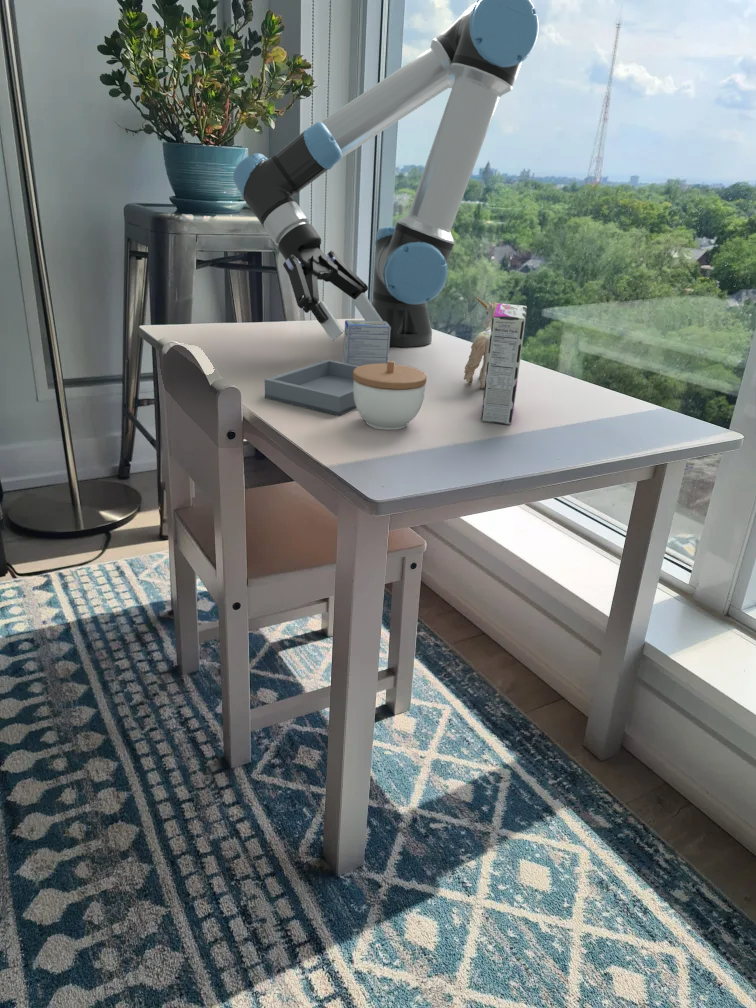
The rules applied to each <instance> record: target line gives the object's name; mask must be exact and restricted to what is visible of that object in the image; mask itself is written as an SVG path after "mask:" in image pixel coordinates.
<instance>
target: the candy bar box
mask: <svg viewBox="0 0 756 1008" xmlns="http://www.w3.org/2000/svg"><path fill="white" fill-rule="evenodd" d="M527 309H528V307H527V305H521V304H512V303H509V304H508V303H503V302H501V303H499V304H497V305H496V309H495V312H494V314H493V317H492V327H491V335H490V344H489V353H488V362H487V371H486V379H485V389H484V388H483V399H482V400H483V401H482V408H481V415H480V416H481V417H480V421H481V422H483V423H489V424H498V425H512V420H513V414H514V409H515V401H516V396H517V395H516V394H517V386H518V379H519V374H520V373H519V372H520V366H521V365H520V364H521V357H522V349H523V342H524V334H525V328H526V327H525V326H526V320H527Z"/></svg>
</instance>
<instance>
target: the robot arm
mask: <svg viewBox="0 0 756 1008" xmlns="http://www.w3.org/2000/svg"><path fill="white" fill-rule="evenodd" d="M538 16H539V15H538V13H537V10H536V8H535V5H534V4H533V2H532V0H477V1H476V2H475V3H473V4H471V5H470V6H469V7H468V8H467V9H466V10H465V11H464V12H463V13H462V15H460V16H459V17H458V18H457V19H456V20H455V21H454V23H452V24H451V25H450V26H448V28H446V29H445V30H443V32H441V33H440V34H439V35H438V36H436V37H434V38H432V39H431V43H430V47H429V48H428V49H427V50H426V51H424V52H423V53H421V54H419V55H418V56H416V57H414V59H412V60H410V61H409V62H407V63H406V64H405V65H403V66H401V67H400V68H399V69H397V70H395V71H394V72H393V73H391V74H390V75H388V76H387V77H385V78H384V79H382V80H381V81H379V82H377V83H376V84H375V85H373V86H372V87H370V88H369V89H367V90H366V91H364V92H363V93H362V94H360V95H358V96H357V97H356V98H354V99H351V101H350V102H348V103H346V104H345V105H343V106H342V107H341V108H339V109H338V110H336V111H334V112H333V113H332V114H330V115H328V116H327V117H326V118H324V119H323V120H321V121H317V122H315V123H314V124H312V125H311V126H309V127H307V128H306V129H304V130H303V131H302V132H301V133H299V135H298V136H296V137H295V138H294V139H292V140H291V141H290V142H289V143H288V144H287V145H285V146H284V147H283V148H281V149H280V150H279V151H278V152H276V154H273V156H271V157H269V158H268V157H267V156H265V155H264V154H263V153H259V152H257V153H256V152H255V153H253V154H251V155H249V156H245V157H244V158H243V159H242V160H241V161H240V162H239V163H238V164H237V165H236V166H235V168H234V171H233V175H232V180H233V182H234V184H235V186H236V188H237V190H238V191H239V193H240V195H241V196H242V199H243V200H244V202H246V204H247V205H248V207H249V208H250V210H251V211H252V212H253V214H254V216H255V217H256V218H257V220H258V221H259V222H260V224H261V226H262V227H263V228H264V229H265V231H266V232H267V234H268V236H269V238H270V239H271V240H272V242H273V243H274V244H275V245H276V246H277V249H278V250H279V252H280V253H281V255H282V257H283V258H284V260H285V261H284V262H283V264H282V265H283V267H284V269H285V271H286V273H287V274H288V277H289V281H290V284H291V288H292V290H293V295H294V298H295V301H296V305H297V307H299V309H302V310H303V312H304V313H306V314H307V313H309V312H310V311H311V313H312V314H313V315H314V317H315V318H316V320H317V322H318V323H319V324H320V326H321V327H322V328H323V330H324V331H325V332H326V333H325V334H327V336H328V337H329V339H330V340H331V342H334V341H336V340H337V339H338V338H339V337H340V336H341V335H342V334H343V333H344V331H345V330H344V329H343V327H342V326H341V325H340V323H339V321H338V320H337V319H336V317H335V316H334V315H333V313H332V311H331V310H330V309H329V307H328V305H327V304H326V302H325V301H324V300H321V301H320V295H319V294H320V293H319V283H318V280H320V281H321V280H323V281H324V282H325V283H327V282H329V283H331V284H332V285H334V286H335V287H337V288H338V289H339V290H340V291H342V292H343V293H345V294H346V295H348V296H349V297H350V298H352V299H353V301H352V303H353V305H354V306H355V307H356V309H357V311H358V312H359V313H360V315H361V317H362V318H363V319H364V320H367V321H386V322H387V323H388V324H389V326H390V327H391V331H390V344H389V347H403V348H404V347H405V348H407V347H409V348H410V347H421V346H427V345H429V344H431V342H432V338H433V329H432V325H431V321H430V316H429V312H428V307H427V304H428V302H430V301H431V300H433V299H435V298H437V296H438V295H439V294H440V293H441V292H442V290H443V289H444V287H445V285H446V282H447V278H448V262H449V259H450V257H451V254H452V250H453V248H454V246H455V239H454V237H453V235H452V231H451V230H452V227H453V225H454V222H455V220H456V217H457V214H458V212H459V210H460V206H461V203H462V201H463V198H464V195H465V192H466V191H467V187H468V184H469V182H470V179H471V176H472V173H473V171H474V168H475V166H476V164H477V160H478V158H479V155H480V152H481V149H482V146H483V143H484V141H485V138H486V135H487V133H488V130H489V127H490V125H491V123H492V119H493V117H494V115H495V111H496V108H497V105H498V103H499V100H500V98H501V97H503V95H506V94H508V93H509V92H511V91H512V90H513V88H514V85H515V81H516V80H517V77H518V74H519V72H520V69H521V65H522V63H523V62H524V61H525V60H526V59H527V58H528V57H529V55H531V52H532V51H533V49H534V47H535V45H536V43H537V41H538V35H539V30H540V29H539V28H540V27H539V24H540V23H539V17H538ZM448 89H451V90H450V94H449V96H448V99H447V101H446V105H445V108H444V111H443V114H442V117H441V119H440V122H439V125H438V127H437V130H436V135H435V136H434V140H433V143H432V146H431V148H430V151H429V155H428V156H427V159H426V163H425V166H424V168H423V170H422V174H421V178H420V180H419V184H418V186H417V188H416V192H415V194H414V198H413V200H412V203H411V206H410V209H409V211H408V214H407V215H405V216H404V217H402V218H400V219H398V220H397V222H396V225H395V226H383V227H380V228H379V229H377V231H376V239H375V241H374V245H375V254H374V255H375V257H374V271H373V289H372V291H373V293H372V302H371V301H370V300H369V298H368V297H367V295H366V292H367V291H368V290H369V286H368V285H367V284H366V283H365V282H364V280H362V279H361V278H360V277H359V276H358V275H357V274H356V273H354V271H353V270H352V269H350V268H349V267H348V266H347V264H345V263H344V262H343V261H342V260H341V259H340V258H339V256H338V255H337V254H336V253H335V251H333V250H330V251H329V252H328V253H327V254H325V253H324V252H323V251H322V249H321V244H322V238H321V236H320V235H319V234H318V232H317V230H316V229H315V228H314V226H313V224H311V223H310V220H309V219H308V217H307V216H306V214H305V213H304V211H303V210H302V208H301V207H300V206H299V204H298V202H297V200H295V198H294V196H295V195H297V194H299V193H300V192H301V190H303V189H305V188H306V187H307V186H309V185H310V184H312V182H314V181H315V180H317V179H318V178H319V177H320V176H322V175H324V174H325V173H326V172H328V171H329V170H331V169H332V168H333V167H334V165H336V164H337V163H338V162H339V161H341V159H342V158H344V157H345V156H347V155H349V154H350V153H351V152H353V151H354V150H356V149H358V148H359V147H361V146H363V144H365V143H366V142H368V141H370V140H371V139H373V138H374V137H376V136H377V135H378V134H380V133H382V132H383V131H385V130H386V129H388V128H390V127H391V126H392V125H394V124H396V123H397V122H399V121H400V120H402V119H403V118H405V117H406V116H408V115H409V114H411V113H412V112H414V111H415V110H417V109H419V108H420V107H421V106H423V105H425V104H426V103H428V102H429V101H431V100H432V99H433V98H435V97H437V96H438V95H440V94H441V93H443V92H444V91H446V90H448Z"/></svg>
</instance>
